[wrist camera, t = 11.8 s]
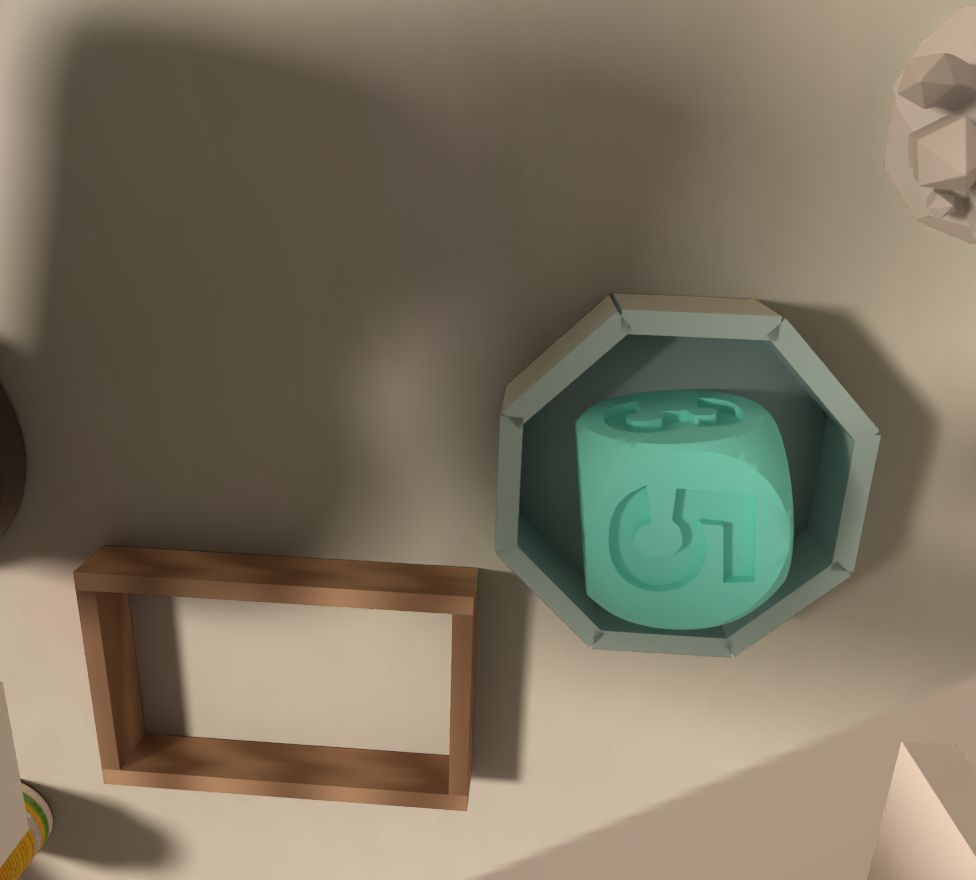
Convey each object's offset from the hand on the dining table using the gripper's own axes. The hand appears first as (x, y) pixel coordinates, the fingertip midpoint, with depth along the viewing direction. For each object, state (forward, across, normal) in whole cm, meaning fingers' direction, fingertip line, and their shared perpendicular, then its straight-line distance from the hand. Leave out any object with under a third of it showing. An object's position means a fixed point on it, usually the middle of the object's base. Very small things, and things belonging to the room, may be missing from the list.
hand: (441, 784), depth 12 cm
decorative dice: (+27, +8, -5) cm, 29 cm away
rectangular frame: (+28, -11, -18) cm, 35 cm away
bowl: (+28, +8, -5) cm, 30 cm away
